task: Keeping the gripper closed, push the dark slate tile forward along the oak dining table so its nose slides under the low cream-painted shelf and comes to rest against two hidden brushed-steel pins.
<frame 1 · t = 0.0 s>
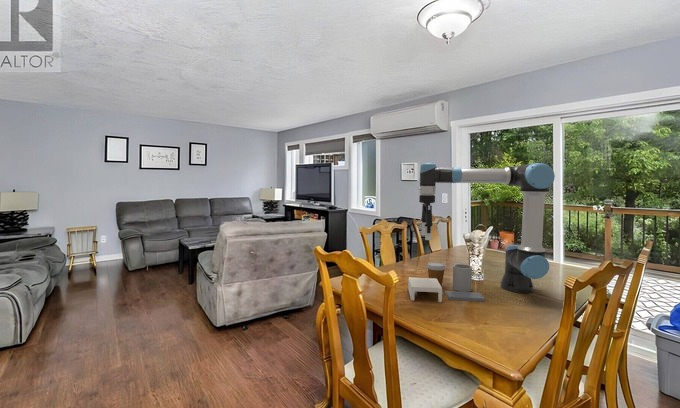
hand: (426, 237, 159), 28 cm above the table, fingers open, 13 cm apart
shelf: (424, 295, 156), on the table
tile: (464, 298, 154), on the table
cup: (461, 289, 167), on the table
disposable coffee cup: (435, 286, 170), on the table
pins: (414, 295, 157), on the table
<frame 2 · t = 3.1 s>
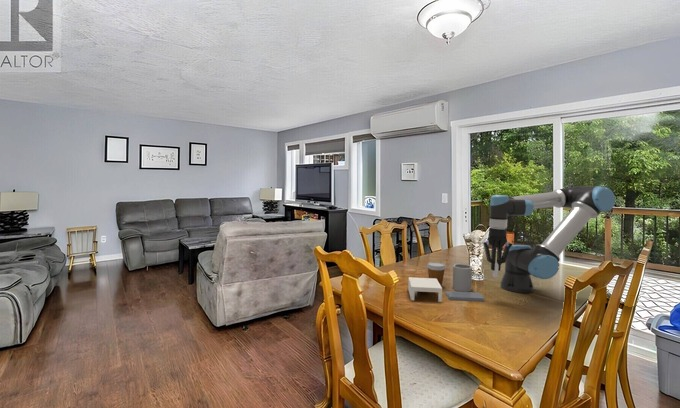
hand: (495, 277, 151), 11 cm above the table, fingers closed
nothing on the table moved.
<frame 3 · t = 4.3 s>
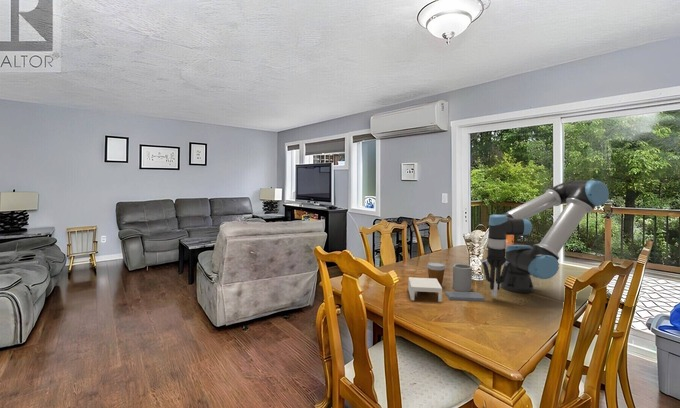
hand: (494, 296, 152), 1 cm above the table, fingers closed
nothing on the table moved.
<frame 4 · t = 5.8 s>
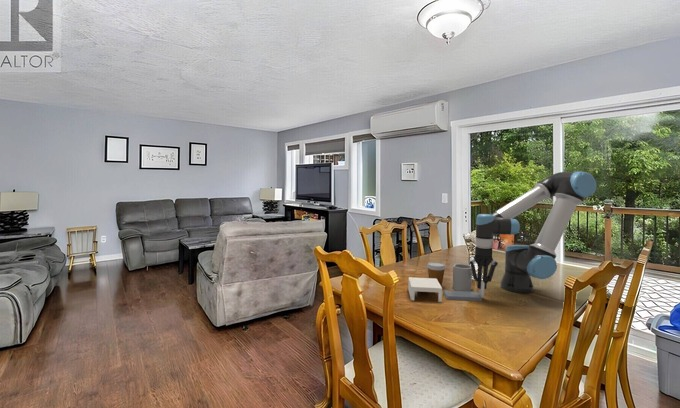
hand: (481, 295, 153), 2 cm above the table, fingers closed
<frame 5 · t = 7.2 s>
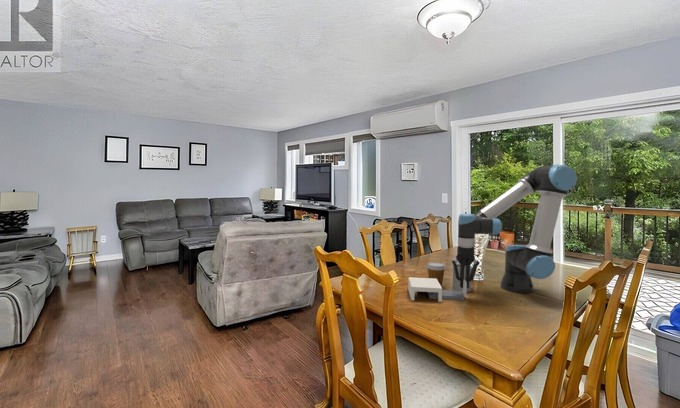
hand: (463, 294, 154), 2 cm above the table, fingers closed
tile: (445, 296, 155), on the table
everything else where it was.
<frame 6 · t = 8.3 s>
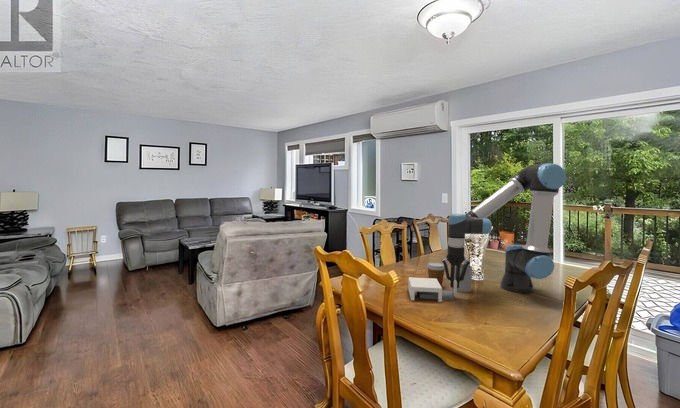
hand: (454, 294, 154), 1 cm above the table, fingers closed
tile: (435, 296, 156), on the table, touching gripper
everything else where it was.
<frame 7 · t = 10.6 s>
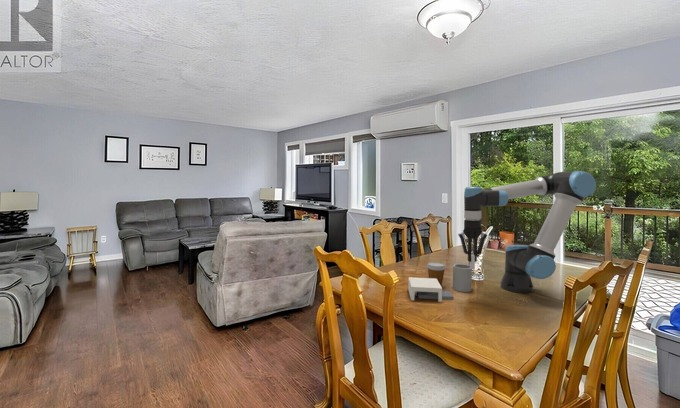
hand: (472, 268, 153), 15 cm above the table, fingers closed
tile: (434, 297, 156), on the table
everything else where it was.
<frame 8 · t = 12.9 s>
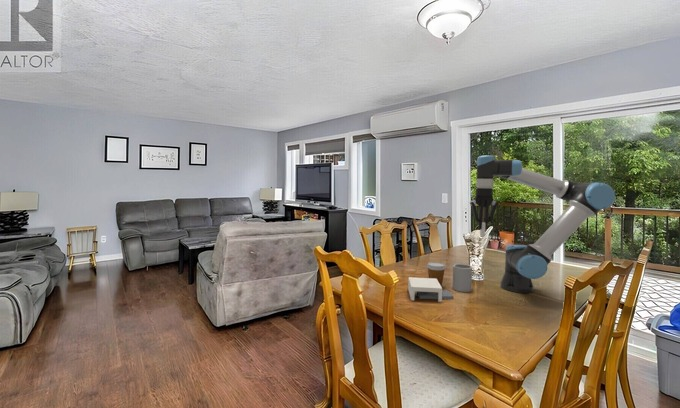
hand: (482, 235, 157), 29 cm above the table, fingers closed
nothing on the table moved.
at the end: tile 0.1 cm from the target spot on the shelf, point -0.6 cm above the shelf's base; tile tilted 0° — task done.
